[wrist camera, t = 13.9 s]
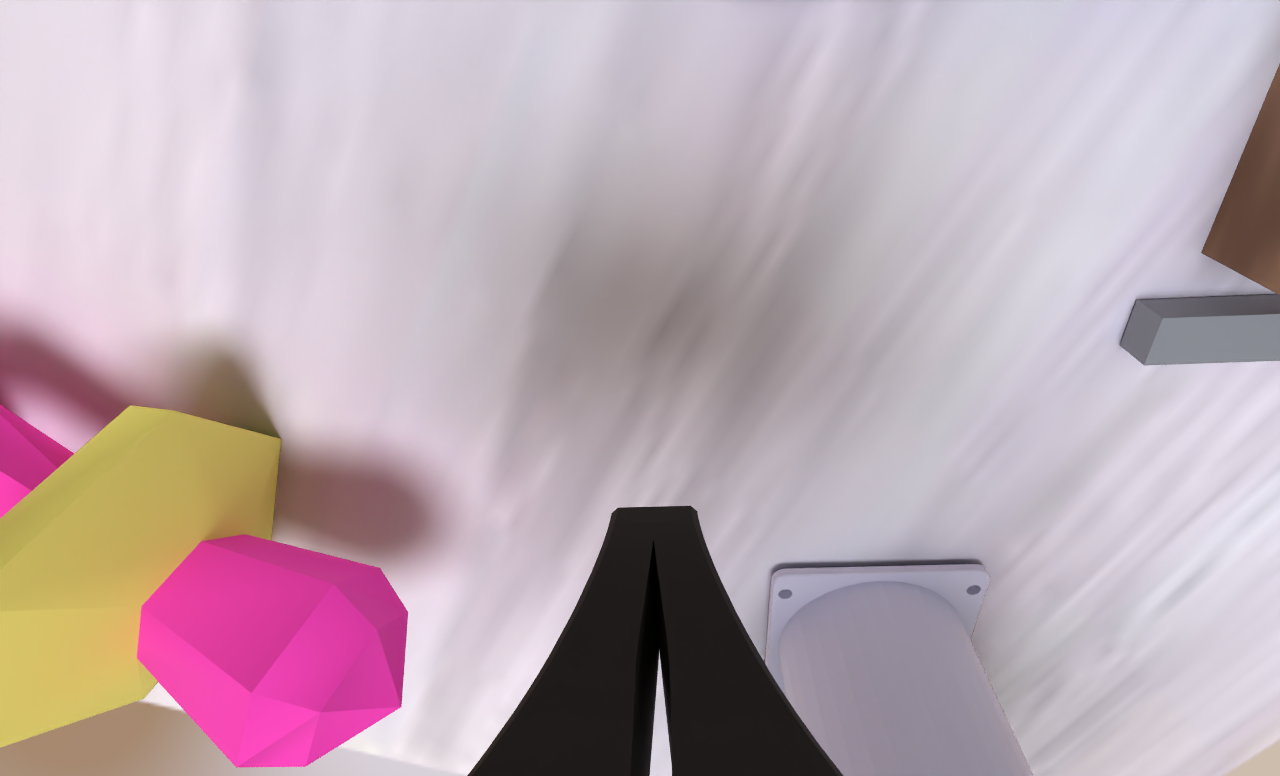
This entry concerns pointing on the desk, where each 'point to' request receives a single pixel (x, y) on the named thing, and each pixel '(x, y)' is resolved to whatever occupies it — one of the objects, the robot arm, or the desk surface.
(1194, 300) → the grey j-shaped hook
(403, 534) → the desk surface
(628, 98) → the desk surface
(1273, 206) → the cardboard box
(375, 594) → the toy
